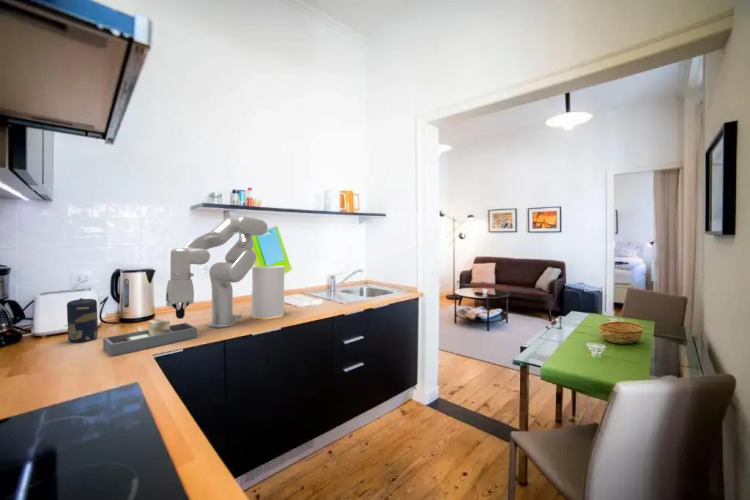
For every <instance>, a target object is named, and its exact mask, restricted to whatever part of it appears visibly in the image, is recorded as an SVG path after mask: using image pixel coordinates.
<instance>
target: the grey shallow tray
mask: <svg viewBox="0 0 750 500" xmlns="http://www.w3.org/2000/svg"><path fill="white" fill-rule="evenodd" d="M197 330H198V329H197V327H196V326H194V325H192V324H189V323H188V322H183V323H176V324H172V325H171V324H170V333H165V334H159V335H154V336H150V335H149V329H145V330H139V331H134V332H128V333H122V334H117V335H116V334H115V335H112V336H107V337H102V340H103V341H102V344H103V347H102V349H103V350H104V352H105V353H107V354H108V356H110V357H111V358H113V357H115V356H120V355H121V354H122V355H125V354H129V353H130V354H131V353H134V352H139V351H143V350H147V349H153V348H157V347H161V346H167V345H171V344H175V343H179V342H183V341H184V342H185V341H188V340H193V339H197V338H198V337H197V336H198V334H197V332H198V331H197ZM112 356H113V357H112Z"/></svg>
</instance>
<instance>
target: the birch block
mask: <svg viewBox="0 0 750 500" xmlns="http://www.w3.org/2000/svg"><path fill="white" fill-rule="evenodd" d="M170 326H171V320H169V319H167V318H166V317H164V318H159V319H152V320H148V330H149V335H150V336H154V335H159V334H165V333H170Z"/></svg>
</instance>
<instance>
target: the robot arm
mask: <svg viewBox="0 0 750 500" xmlns="http://www.w3.org/2000/svg"><path fill="white" fill-rule="evenodd" d="M267 231H268V223H267V222H266V221H265V220H263V219H258V218H255V217H249V216H245V215H235V216H234V215H233V216H231V215H230V216H228V217H226V218H225V219H224V220H223V221H222V222H220V223H219V224H218V225H216V226H215V228H213V229H212V230H210V231H209V232H207V233H204V234H202V235H200V236H198V237H196V238H194V239H192V240H191V241H190V242H188V243H187V244H186V245H185V246H184V247H182V248H173V249H171V250H170V272H169V273H170V279H168V280H167V284H166V291H165V302H166V304H165V306H167V307H171V308H173V309H175V317H176V318H177V320H180V319H184V318H185V316H186V314H185V311H186V309H187V307H188V306H189V305H192V304H195V303H194V302H195V301H194V298H195V291H194V283H193V280H192V277H194V275H195V274H194V273H192V272H191V265H197V266H198V265H201V266H202V265H205V264H207V263H209V261H210V258H211V254H210V252H209V251H208V250H209V249H212V248H217V247H220V246H223V245H225V244H226V243H227V242H228V241H229V240H230V239H231V238H233V237H234V235H236V234H238V240H237V241H236V243H235V244H234V245H233V246H232V247H231V248H230V249H229V250H228V251H227V253H226V254H225V256H224V260H225V262H222V261H220V262H219V261H218V262H216V263H213V264H212V265H211V266H210V269H209V279H210V283H211V284H210V285H211V321H210V322H209V323H208V327H209V328H213V329H223V328H229V327H232V325H233V326H234V325H236V324H237V320H239V319H242V318H243V315H242V314H241V313H240V314H234V310H233V309H234V307H233V302H234V299H233V296H234V295H233V292H234V291H233V285H232V284H233V283H239V282H241V281H242V280H243V279H244V278H245V276H246V275H247V274H248V273H249V272H250V270H252V267H254V265H255V263H256V260H257V255H256V251H254V250H253V249H254V239H253V236H255V237H257V236H264V235H265V234H267Z"/></svg>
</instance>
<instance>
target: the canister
mask: <svg viewBox="0 0 750 500" xmlns="http://www.w3.org/2000/svg"><path fill="white" fill-rule="evenodd" d="M66 313H67V315H66V316H67V317H66V319H67V320H66V321H67V339H68V341H69V342H70V343H71V342H72V343H80V342H86V341H91V340H93V339H95V338H97V337H98V335H99V329H98V328H99V321H98V301H97V300H96V299H93V298H83V297H81V298H79V299H75V300H70V301H68V302H67V304H66Z"/></svg>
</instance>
